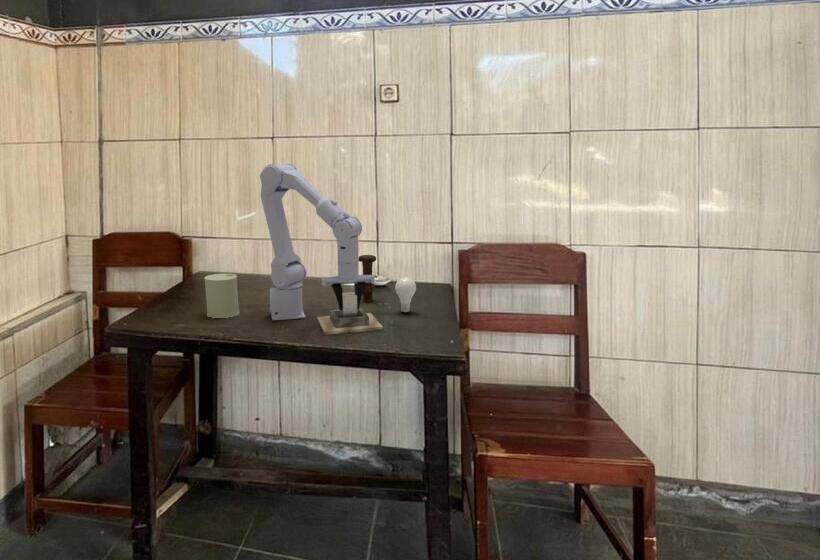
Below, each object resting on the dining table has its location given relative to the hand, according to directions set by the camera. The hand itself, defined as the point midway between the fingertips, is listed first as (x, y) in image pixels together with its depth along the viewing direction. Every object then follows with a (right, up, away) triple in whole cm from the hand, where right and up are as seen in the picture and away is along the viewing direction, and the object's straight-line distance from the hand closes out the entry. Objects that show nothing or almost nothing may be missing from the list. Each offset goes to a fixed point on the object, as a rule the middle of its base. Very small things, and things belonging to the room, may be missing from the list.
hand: (348, 308), depth 151 cm
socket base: (0, -4, +1) cm, 5 cm away
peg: (0, -2, +1) cm, 2 cm away
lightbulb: (+16, -2, +13) cm, 21 cm away
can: (-39, -2, +9) cm, 40 cm away
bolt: (+3, +1, +26) cm, 26 cm away
